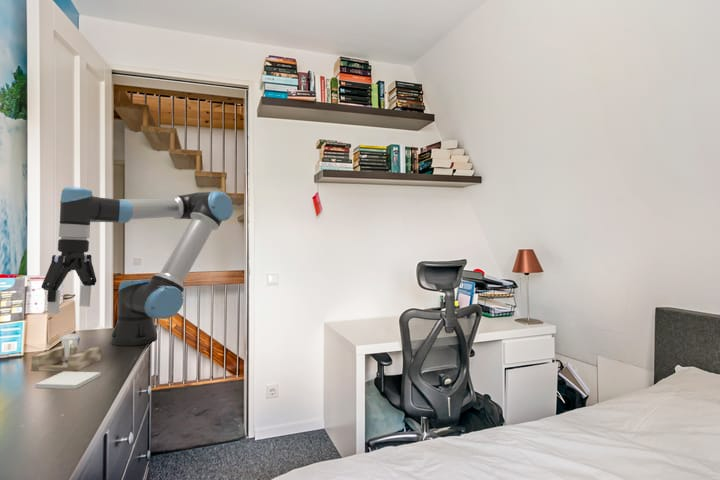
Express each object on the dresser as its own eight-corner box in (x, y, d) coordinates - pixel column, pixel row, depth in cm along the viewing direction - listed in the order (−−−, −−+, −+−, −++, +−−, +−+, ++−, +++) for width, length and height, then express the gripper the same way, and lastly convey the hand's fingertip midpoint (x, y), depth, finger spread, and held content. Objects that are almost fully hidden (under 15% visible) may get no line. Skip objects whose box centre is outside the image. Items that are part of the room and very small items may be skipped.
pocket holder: (61, 358, 124) (62, 345, 124) (100, 359, 125) (101, 346, 125) (31, 370, 112) (31, 356, 112) (74, 371, 113) (75, 357, 113)
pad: (63, 375, 110) (63, 371, 110) (100, 376, 110) (100, 372, 110) (35, 387, 100) (35, 384, 100) (75, 389, 100) (76, 385, 100)
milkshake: (55, 364, 118) (56, 331, 118) (76, 361, 122) (78, 328, 122) (58, 368, 115) (60, 333, 115) (80, 364, 119) (82, 331, 119)
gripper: (88, 239, 131) (84, 303, 131) (28, 237, 106) (23, 316, 106) (111, 240, 132) (107, 304, 131) (56, 238, 107) (51, 317, 106)
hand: (69, 309), depth 119 cm, fingers open, 13 cm apart
